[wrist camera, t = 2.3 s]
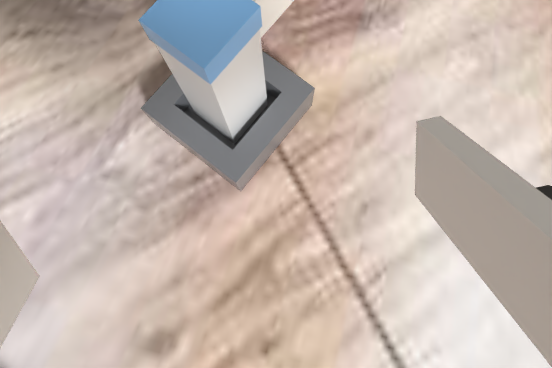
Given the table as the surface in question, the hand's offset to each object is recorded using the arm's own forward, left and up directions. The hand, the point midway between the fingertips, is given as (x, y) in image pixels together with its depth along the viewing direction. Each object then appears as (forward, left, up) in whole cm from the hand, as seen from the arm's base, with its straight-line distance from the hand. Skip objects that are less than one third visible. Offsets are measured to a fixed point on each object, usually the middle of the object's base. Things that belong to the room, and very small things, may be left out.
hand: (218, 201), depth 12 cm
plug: (-8, +7, -16) cm, 19 cm away
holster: (-8, +7, -17) cm, 20 cm away
